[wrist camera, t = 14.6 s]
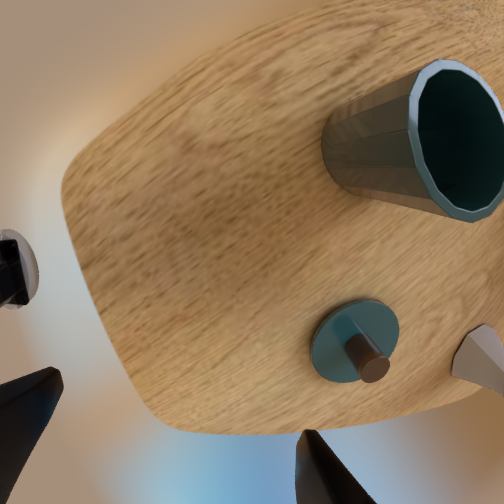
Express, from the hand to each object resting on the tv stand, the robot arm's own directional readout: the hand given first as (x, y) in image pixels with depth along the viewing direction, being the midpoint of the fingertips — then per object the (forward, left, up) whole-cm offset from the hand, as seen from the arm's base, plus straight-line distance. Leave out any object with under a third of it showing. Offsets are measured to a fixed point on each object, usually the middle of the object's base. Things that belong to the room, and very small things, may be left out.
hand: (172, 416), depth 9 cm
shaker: (+12, +10, -12) cm, 20 cm away
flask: (+29, -10, -13) cm, 33 cm away
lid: (+12, -5, -12) cm, 18 cm away
